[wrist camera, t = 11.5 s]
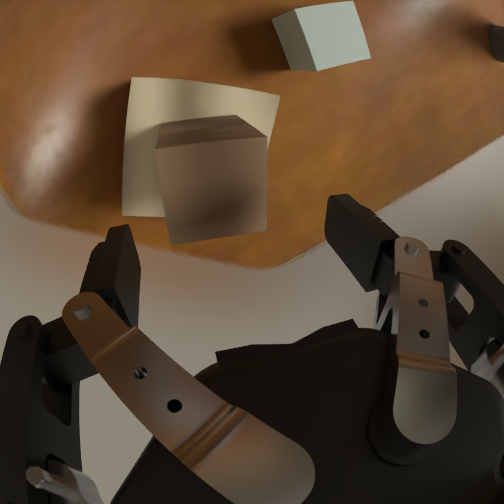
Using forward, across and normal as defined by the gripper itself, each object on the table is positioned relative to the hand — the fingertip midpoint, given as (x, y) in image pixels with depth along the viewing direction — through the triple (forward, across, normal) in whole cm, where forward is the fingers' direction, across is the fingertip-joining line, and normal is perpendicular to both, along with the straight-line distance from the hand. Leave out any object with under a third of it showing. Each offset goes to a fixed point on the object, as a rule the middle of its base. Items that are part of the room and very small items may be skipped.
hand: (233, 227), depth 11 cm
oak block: (+15, +1, 0) cm, 15 cm away
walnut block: (+10, 0, 0) cm, 10 cm away
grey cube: (+15, -10, -9) cm, 20 cm away
